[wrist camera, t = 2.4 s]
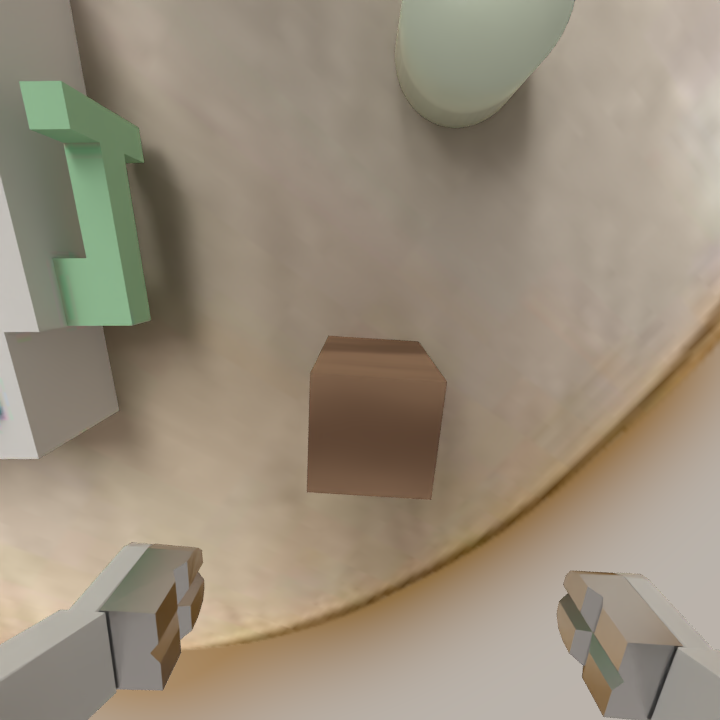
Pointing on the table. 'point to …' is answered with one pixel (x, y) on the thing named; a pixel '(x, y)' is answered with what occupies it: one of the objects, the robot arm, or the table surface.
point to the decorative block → (59, 235)
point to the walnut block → (374, 418)
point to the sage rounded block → (472, 53)
